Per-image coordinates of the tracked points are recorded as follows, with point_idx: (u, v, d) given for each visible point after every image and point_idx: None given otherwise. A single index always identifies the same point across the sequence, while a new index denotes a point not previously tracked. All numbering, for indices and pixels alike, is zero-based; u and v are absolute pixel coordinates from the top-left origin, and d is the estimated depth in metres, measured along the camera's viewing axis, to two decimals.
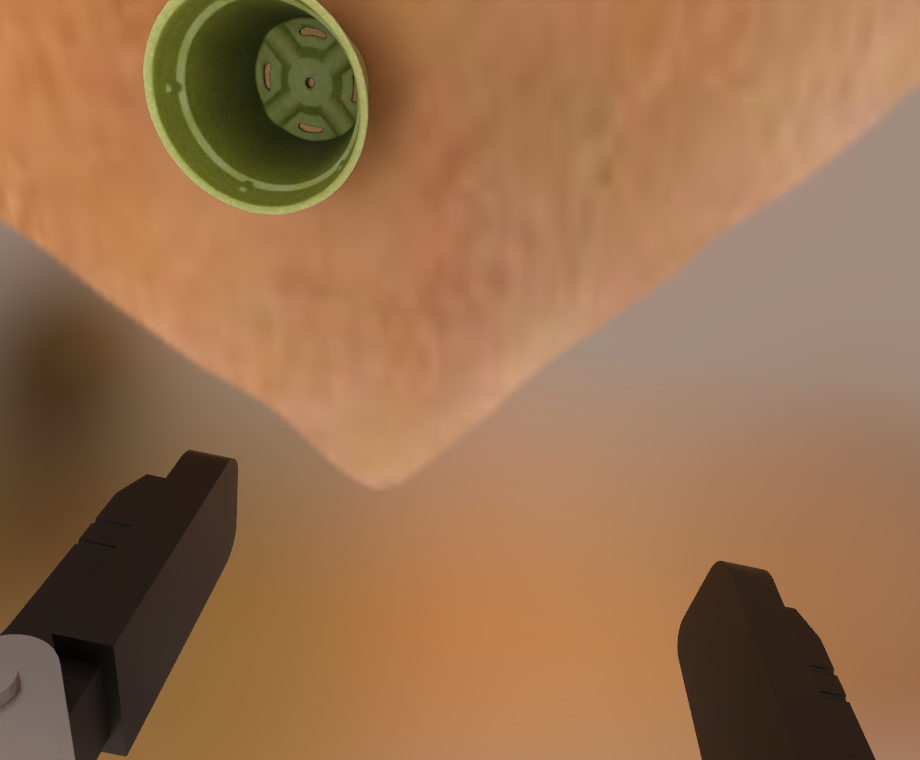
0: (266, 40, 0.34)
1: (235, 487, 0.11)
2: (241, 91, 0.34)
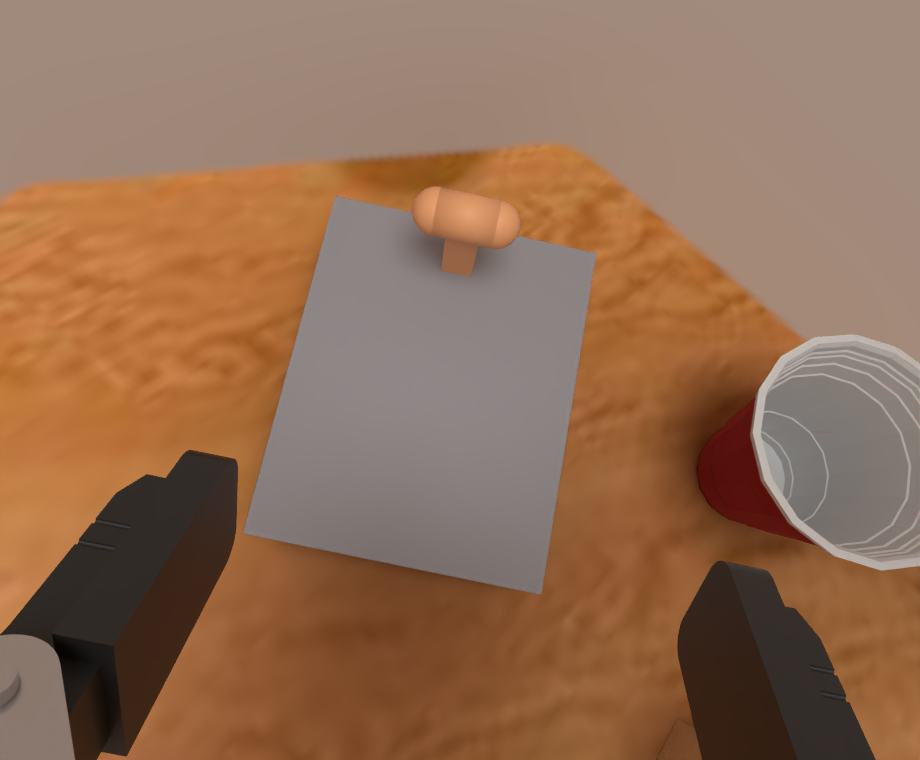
0: None
1: (235, 487, 0.11)
2: None
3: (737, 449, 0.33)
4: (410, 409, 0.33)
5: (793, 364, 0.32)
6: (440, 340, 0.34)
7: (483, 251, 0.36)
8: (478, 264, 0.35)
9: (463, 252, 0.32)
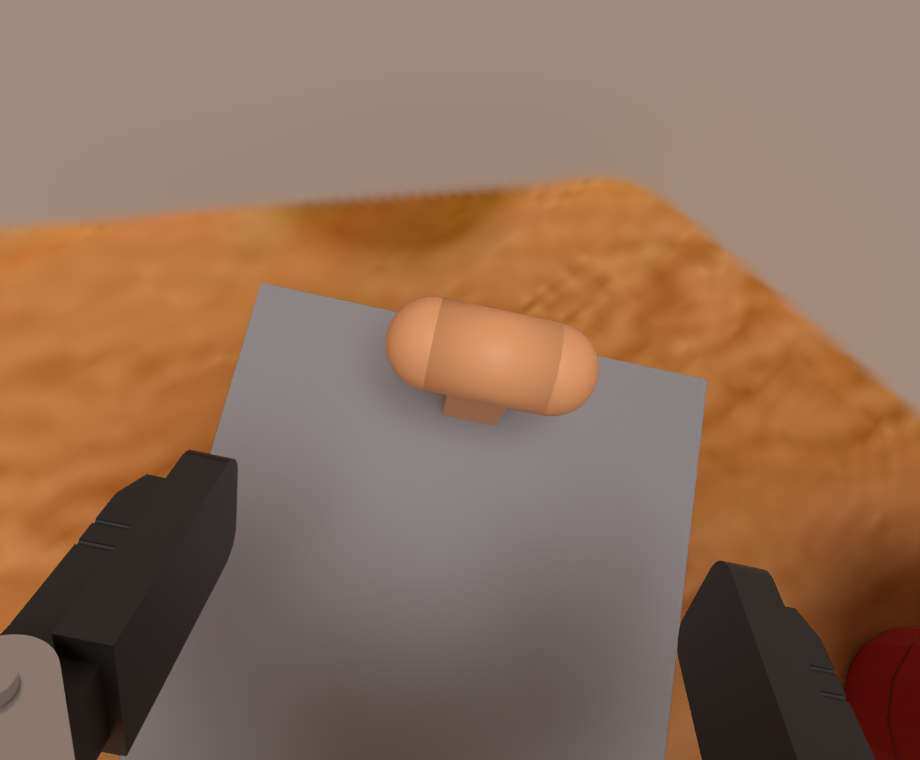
0: None
1: (235, 487, 0.11)
2: None
3: None
4: (386, 681, 0.18)
5: None
6: (441, 544, 0.19)
7: None
8: None
9: (483, 403, 0.18)
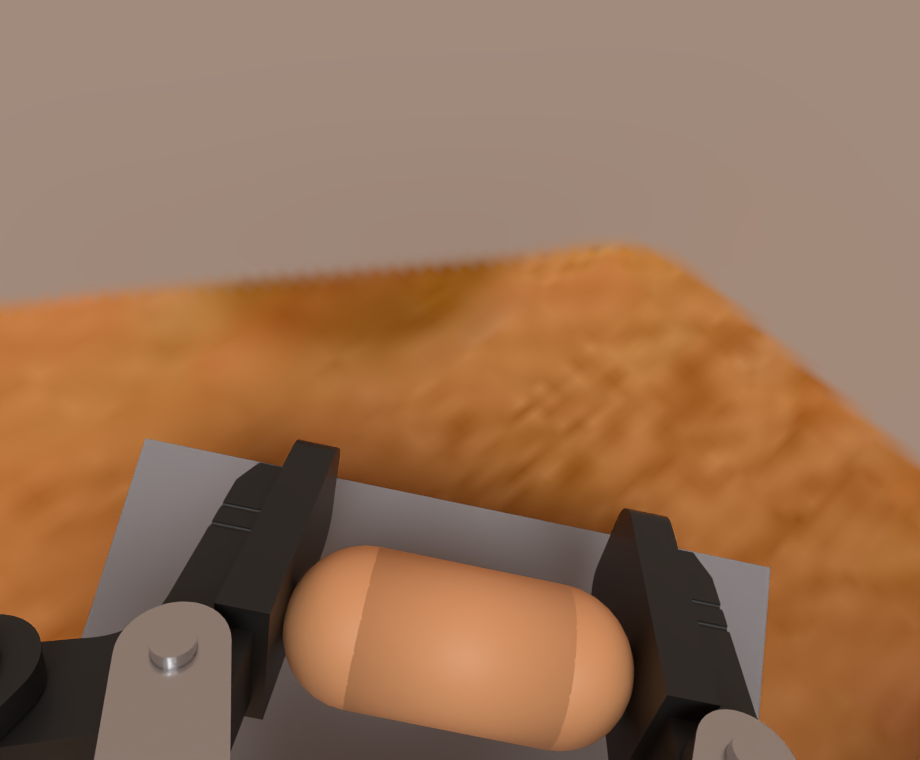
0: None
1: (336, 475, 0.11)
2: None
3: None
4: None
5: None
6: None
7: None
8: None
9: None
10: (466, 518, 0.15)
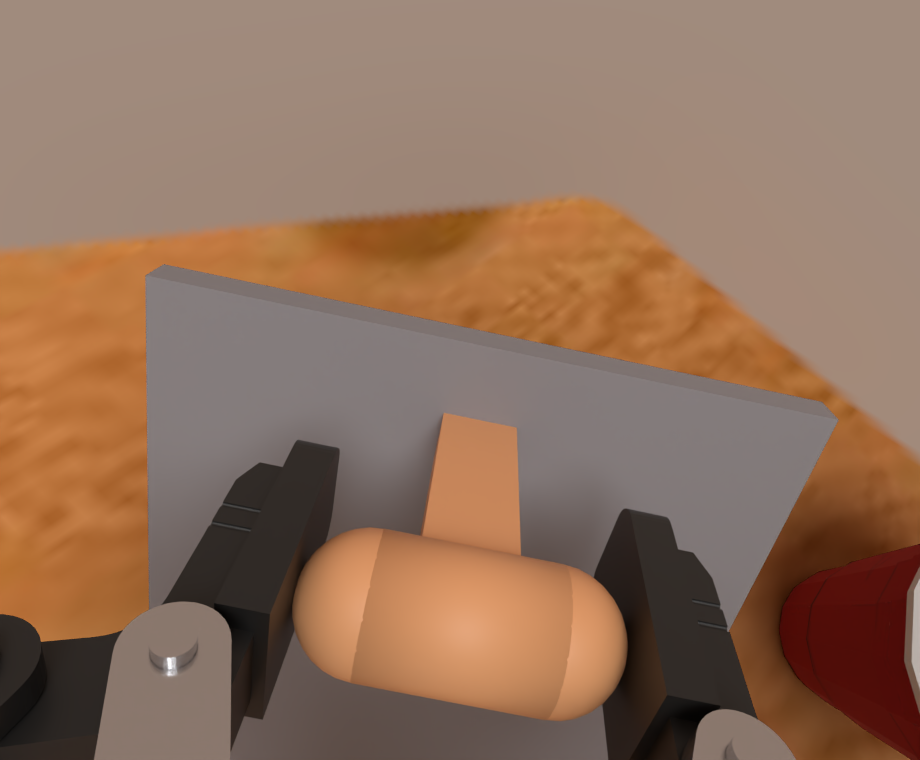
0: None
1: (336, 475, 0.11)
2: None
3: (866, 653, 0.23)
4: (384, 691, 0.18)
5: None
6: None
7: (538, 416, 0.14)
8: (525, 445, 0.14)
9: None
10: (502, 363, 0.14)
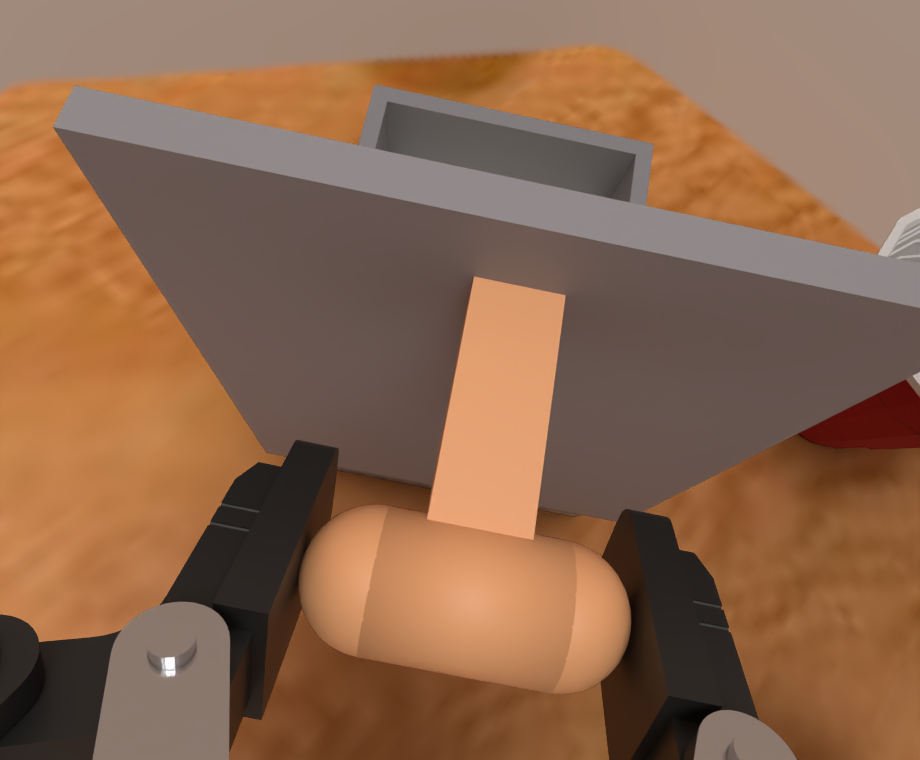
0: None
1: (335, 475, 0.11)
2: None
3: None
4: (438, 428, 0.20)
5: (910, 233, 0.27)
6: None
7: (594, 289, 0.11)
8: (576, 309, 0.12)
9: None
10: (547, 241, 0.10)
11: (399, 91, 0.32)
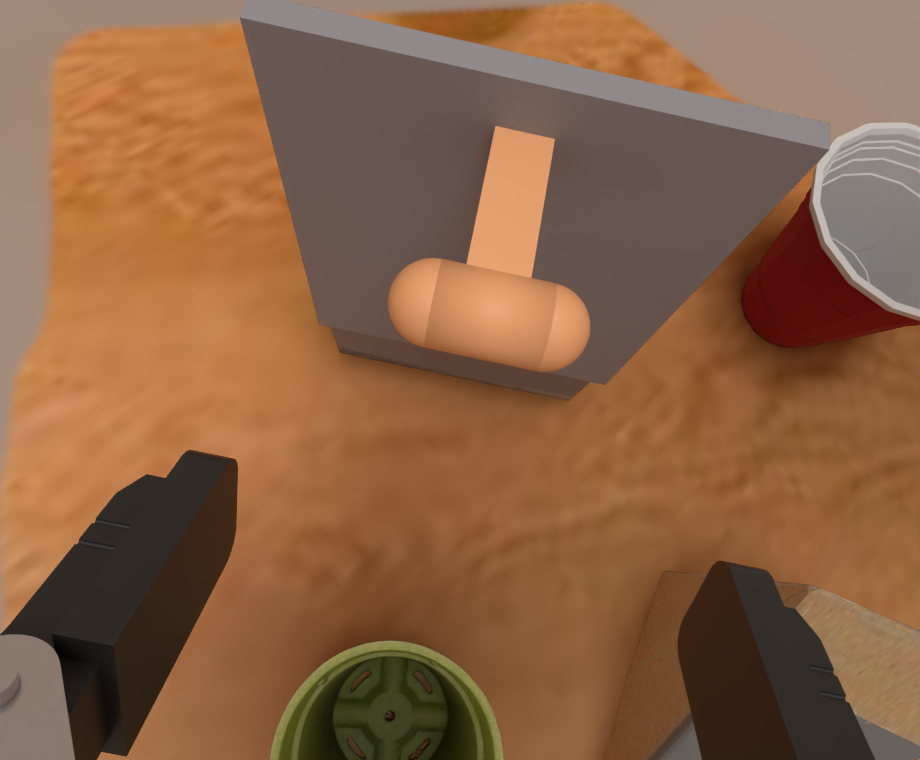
0: (385, 657, 0.35)
1: (235, 487, 0.11)
2: (338, 685, 0.33)
3: (792, 240, 0.34)
4: None
5: (846, 151, 0.33)
6: None
7: (573, 132, 0.17)
8: (561, 151, 0.18)
9: None
10: (542, 94, 0.16)
11: None
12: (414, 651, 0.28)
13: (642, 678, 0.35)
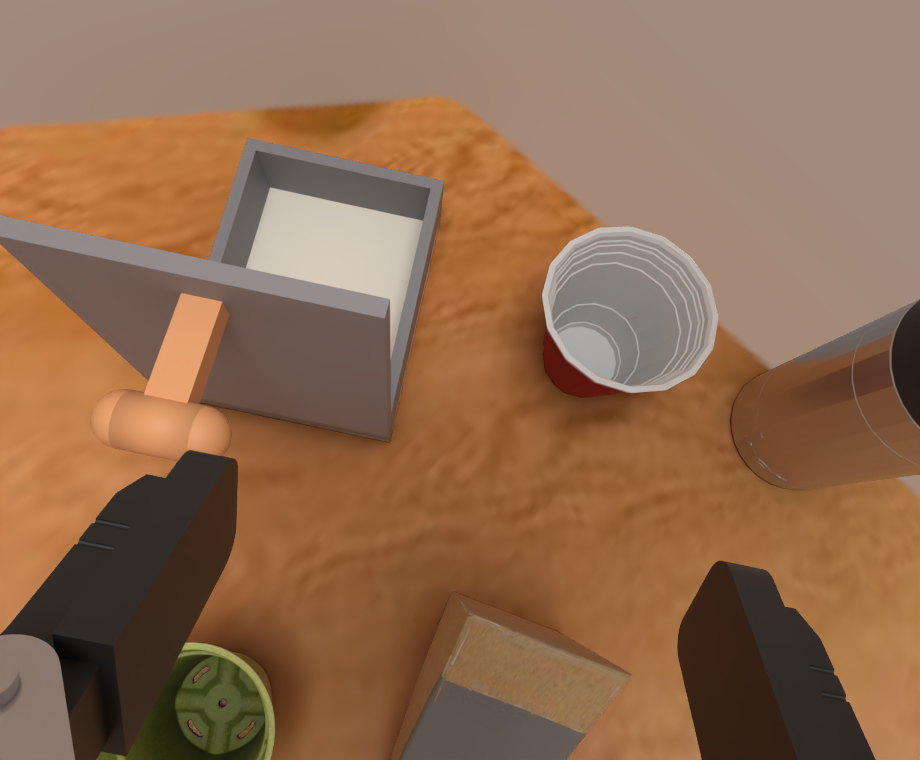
0: None
1: (235, 487, 0.11)
2: (176, 677, 0.42)
3: None
4: (233, 370, 0.34)
5: (584, 249, 0.41)
6: (230, 345, 0.30)
7: (230, 299, 0.25)
8: (231, 307, 0.26)
9: None
10: (195, 281, 0.24)
11: (264, 143, 0.46)
12: (210, 650, 0.36)
13: (419, 681, 0.43)
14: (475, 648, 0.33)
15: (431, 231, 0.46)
